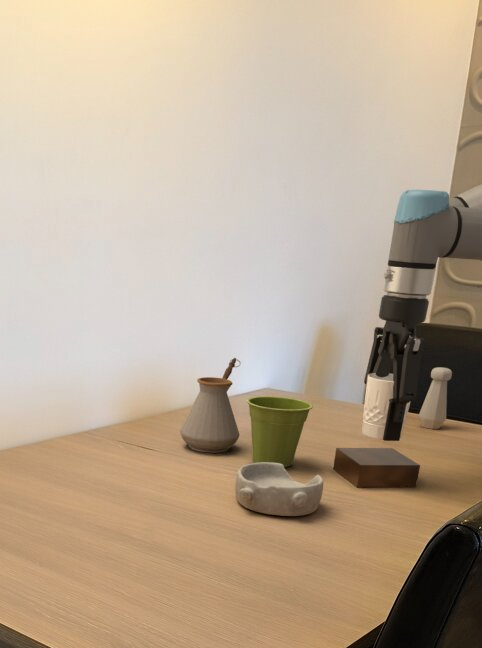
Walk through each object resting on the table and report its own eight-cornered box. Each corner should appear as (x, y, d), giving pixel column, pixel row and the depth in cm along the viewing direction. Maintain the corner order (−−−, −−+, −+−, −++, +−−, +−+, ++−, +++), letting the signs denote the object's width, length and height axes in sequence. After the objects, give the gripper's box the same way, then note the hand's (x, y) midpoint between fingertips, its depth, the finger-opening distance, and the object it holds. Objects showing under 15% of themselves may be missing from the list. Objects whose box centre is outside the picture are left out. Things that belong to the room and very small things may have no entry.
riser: (388, 468, 154) (392, 447, 152) (416, 487, 144) (420, 465, 142) (332, 469, 152) (336, 447, 150) (356, 487, 142) (360, 465, 140)
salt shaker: (412, 425, 187) (423, 366, 181) (425, 422, 191) (437, 364, 185) (435, 431, 183) (447, 371, 178) (448, 428, 187) (461, 369, 181)
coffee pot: (229, 458, 154) (237, 377, 147) (171, 450, 157) (176, 369, 151) (255, 434, 172) (263, 360, 166) (202, 426, 175) (208, 354, 169)
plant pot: (318, 468, 151) (327, 407, 146) (267, 476, 145) (275, 412, 140) (276, 452, 160) (283, 393, 155) (227, 458, 154) (233, 397, 149)
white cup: (397, 443, 140) (409, 384, 135) (352, 436, 143) (362, 377, 139) (409, 434, 146) (420, 377, 141) (365, 427, 149) (375, 371, 145)
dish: (250, 485, 140) (254, 456, 138) (330, 501, 134) (335, 471, 132) (217, 508, 128) (220, 477, 126) (303, 527, 122) (307, 494, 120)
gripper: (359, 288, 143) (338, 419, 153) (413, 301, 125) (386, 449, 134) (399, 290, 144) (375, 420, 154) (459, 303, 126) (428, 450, 136)
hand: (380, 433), depth 144 cm, fingers closed on white cup, 8 cm apart
